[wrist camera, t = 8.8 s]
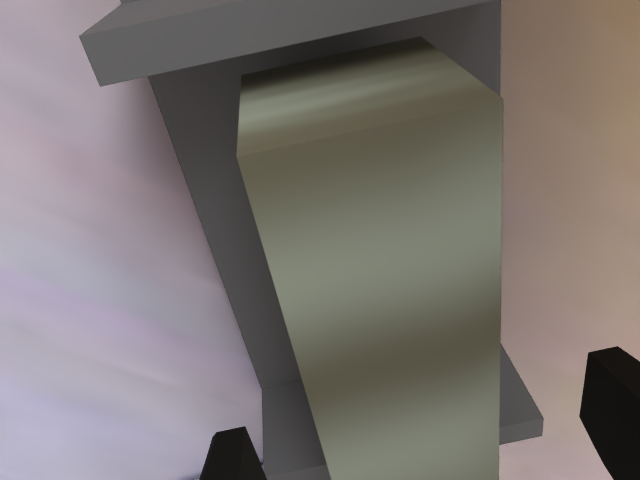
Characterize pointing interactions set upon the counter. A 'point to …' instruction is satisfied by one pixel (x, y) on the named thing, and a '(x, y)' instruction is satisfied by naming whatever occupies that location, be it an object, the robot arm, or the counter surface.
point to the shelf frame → (223, 168)
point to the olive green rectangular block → (385, 252)
